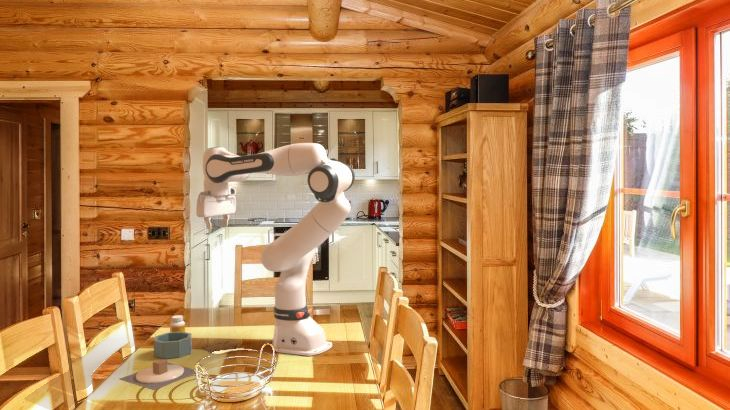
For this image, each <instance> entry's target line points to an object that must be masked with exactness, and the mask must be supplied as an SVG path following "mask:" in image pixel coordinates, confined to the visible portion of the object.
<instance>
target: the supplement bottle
mask: <svg viewBox="0 0 730 410" xmlns="http://www.w3.org/2000/svg"><path fill="white" fill-rule="evenodd" d="M169 332H186V322H185V321H184V316H183V315H179V314H178V315H173V316H171V322H170V323H169Z"/></svg>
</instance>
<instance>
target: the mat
mask: <svg viewBox="0 0 730 410" xmlns="http://www.w3.org/2000/svg"><path fill="white" fill-rule="evenodd" d="M167 364H173V365H177V364H176V363H171V362H168V361H167ZM181 366H182V365H181ZM182 367H183V368H184V374H183V375H182V376H180V377H179V378H177V379H174V380H171V381H168V382H163V383H155V384H146V383H141V382H138V381H137V380H136V374H137V373H138V372H140V371H141V370H140V371H139V370H138V371H136V372H134V373H132V374H128V375H125V376H122V377H119V380H121V381H123V382H128V383H131V384H134V385H136V386H140V387H143V388H147V389H150V390H153V391H156V390H159V389H161V388H164V387H166V386H168V385H171V384H173V383H176V382H178V381H181V380H183V379H185V378H187V377H191V376H192V375H195V374H196V373H195V371H194V370H195V369H194V368H190V367H186V366H184V365H183V366H182Z"/></svg>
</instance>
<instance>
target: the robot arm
mask: <svg viewBox="0 0 730 410" xmlns="http://www.w3.org/2000/svg"><path fill="white" fill-rule="evenodd" d="M202 172H203V177H204V178H203V191H201V192H200V193H198V196H197V200H196V208H195V209H196V213H195V214H196V216H197V218H203V221H204V222H205V224H206V229H207V230H212V229H213V228H214V227H213V226H214V224H213V223H212V221H211V220H212V217H218V216H222V218H223V220H222V221H221V227H228V226H229V220H230V216H231V215H232V214H235V213H236V210H237V198H236V196H235V195H236V194H237V190H236V188H233V187H232V186H230V185H229V183H232V182H233V183H235V182H242V181H243V182H244V181H245V180H247V179H248V177H250V174H266V175H275V176H285V177H294V176H302V175H307V185H308V187H309V189H310V191H311V193H312V194H313V195H314V197H315V199H316V200H317V204H315V206H314V207H312V209H311V210H310V211H309V212H308V213H307V214H305V216H304V217H303V218H301V219H300V220H299V221H298V222H297V223H296V224H295V225H293V226H291V228H289V229H288V230H287V231H285V232H283V233H282V234H281V235H279V236H278V237H277V238H276V239H274V241H272V242H270V243H268V244H267V245H266V246H264V248H262V251H261V253H260V262H261V264H262V266H263V267H264V269H266V270H267V271H269V272H278V273H279V272H280V274H279V278H278V279H277V281H276V282H275V286H274V307H273V317H274V329H273V330H274V331H273V338H272V343H271V346H272V345H273V346H274V348H275V351H276V352H275V353H282V354H288V355H289V354H291V355H297V356H299V355H300V356H306V357H311V356H316V355H319V354H322V353H324V352H327V351H329V350H330V349H331V348H332V347H333V342H331V341H328V340H327V337H326V333H325V332H326V331H325V329H324V328H323V327H322V326H321V325H320V324H319V323H318V322H316V321H315V320H314V319H313V318H312V317H311V315H310V313H312V312H313V311H312V310H313V308H310V309H309V308H308V306H307V304H306V302H307V301H306V298H307V297H306V292H307V291H306V288H307V287H306V285H307V279H308V278H307V277H308V273H309V269H310V265H311V263H312V261H313V259H314V257H315V255H316V248H318V247H320V246H321V245H322V244H323V243H324V242H325V241H326V240H327V239H329V237H331V236H332V235H333V233H335V232H336V231H337V230H338V229H339V228H340V226H341V225H342V224H343V223H344V222H345V221H346V219H347V217H348V216H349V214H350V213H351V209H352V208H351V204H350V202H349V200H348V199H347V198H346V196H345V192H346V191H348V190H349V189H350V188H351V187H352V186H353V185H354V183H355V171H354V170H353V168H352V167H351V166H350V165H349V164H347V163H346V162H343V161H340V160H338V159H336V158H334V157H333V158H330V159H329V158H328V156H327V151H326V149H325V147H324V146H323V145H321V144H320V143H317V142H316V143H315V142H299V143H292V144H286V145H283V146H279V147H277V148H274V149H269V150H267V151H262V152H260V153H255V154H248V155H238V154H235V153H232V152H230V151H228V150H227V149H226V148H225V147H223V146H214V147H210V148H207V149H205V150H204V153H203V157H202Z"/></svg>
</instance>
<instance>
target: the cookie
mask: <svg viewBox="0 0 730 410" xmlns="http://www.w3.org/2000/svg"><path fill="white" fill-rule="evenodd" d="M236 348H245V347H244V346H243V345H240V344H239V343H237V342H236V341H234V340H230V341H228V340H227V341H224V342H220V343H216V344H209V345H205V346H202V350H203V349H204V350H205V351H206V352H207V351H208V352H207V353H209V352H210V353H209V354H211V353H212V352H214V351H220V350H227V349H236Z"/></svg>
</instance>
